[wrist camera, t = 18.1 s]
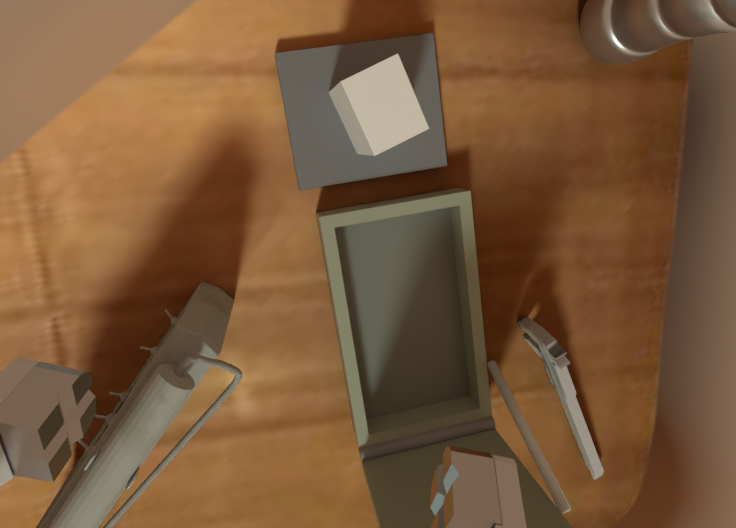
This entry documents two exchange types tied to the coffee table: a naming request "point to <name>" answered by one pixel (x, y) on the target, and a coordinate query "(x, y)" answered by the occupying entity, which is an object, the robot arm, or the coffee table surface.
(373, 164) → the rubber mat
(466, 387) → the equipment case
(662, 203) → the coffee table surface
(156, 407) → the geiger counter
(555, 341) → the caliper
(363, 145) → the block
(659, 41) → the plastic bottle
